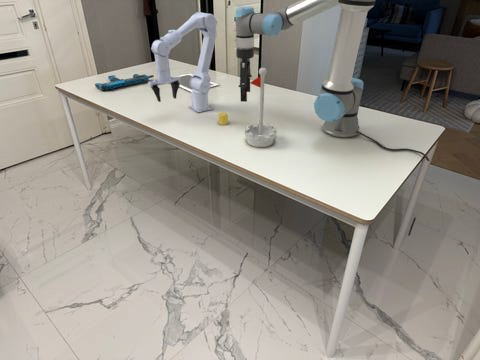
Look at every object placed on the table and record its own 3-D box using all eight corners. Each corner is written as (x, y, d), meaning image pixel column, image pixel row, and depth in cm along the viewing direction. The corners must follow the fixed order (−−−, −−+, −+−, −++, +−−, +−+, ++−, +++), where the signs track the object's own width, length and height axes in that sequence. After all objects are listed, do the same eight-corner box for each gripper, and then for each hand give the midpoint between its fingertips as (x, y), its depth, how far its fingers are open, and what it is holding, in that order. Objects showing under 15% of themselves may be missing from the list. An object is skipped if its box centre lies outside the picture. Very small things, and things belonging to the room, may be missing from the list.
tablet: (162, 79, 213) (162, 79, 213) (189, 73, 224) (189, 73, 224) (191, 92, 193) (191, 91, 192) (219, 85, 204) (219, 84, 203)
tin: (217, 124, 156) (217, 115, 153) (220, 120, 159) (220, 111, 157) (226, 125, 155) (226, 116, 152) (229, 121, 158) (228, 112, 156)
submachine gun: (139, 68, 225) (158, 74, 208) (140, 74, 226) (158, 80, 210) (87, 78, 206) (103, 86, 189) (89, 84, 208) (104, 92, 191)
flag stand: (267, 132, 148) (271, 61, 132) (281, 144, 138) (286, 70, 122) (240, 137, 144) (240, 65, 128) (252, 150, 134) (253, 74, 118)
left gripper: (150, 74, 143) (155, 105, 150) (182, 69, 150) (185, 99, 157) (144, 70, 148) (149, 100, 155) (175, 65, 155) (178, 94, 162)
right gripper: (240, 41, 155) (241, 87, 166) (231, 54, 134) (233, 105, 146) (256, 42, 154) (256, 88, 165) (250, 54, 133) (250, 106, 145)
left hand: (167, 99), depth 156 cm, fingers open, 7 cm apart
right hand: (245, 96), depth 156 cm, fingers open, 13 cm apart
